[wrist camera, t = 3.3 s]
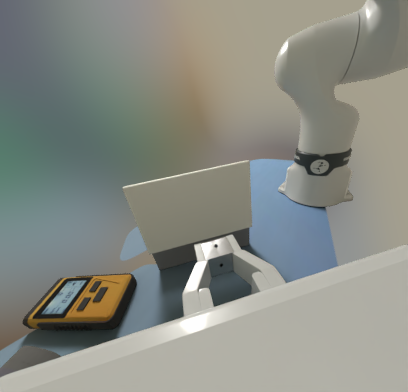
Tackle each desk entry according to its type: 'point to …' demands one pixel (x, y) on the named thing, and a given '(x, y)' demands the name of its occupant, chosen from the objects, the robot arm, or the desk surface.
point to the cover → (192, 206)
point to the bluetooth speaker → (27, 359)
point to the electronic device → (83, 303)
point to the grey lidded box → (193, 250)
